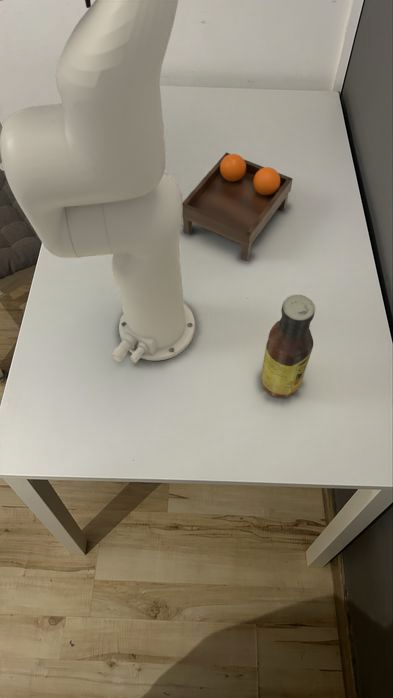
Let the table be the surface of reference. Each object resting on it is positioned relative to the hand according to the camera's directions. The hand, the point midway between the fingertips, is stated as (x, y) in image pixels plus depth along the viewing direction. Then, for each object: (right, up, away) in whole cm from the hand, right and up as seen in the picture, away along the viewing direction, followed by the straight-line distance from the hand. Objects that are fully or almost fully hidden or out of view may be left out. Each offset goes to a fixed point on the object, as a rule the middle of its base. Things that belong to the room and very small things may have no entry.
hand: (119, 0), depth 77 cm
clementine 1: (+19, -22, +16) cm, 33 cm away
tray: (+19, -29, +18) cm, 40 cm away
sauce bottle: (+25, -59, +1) cm, 64 cm away
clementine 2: (+25, -25, +14) cm, 38 cm away
